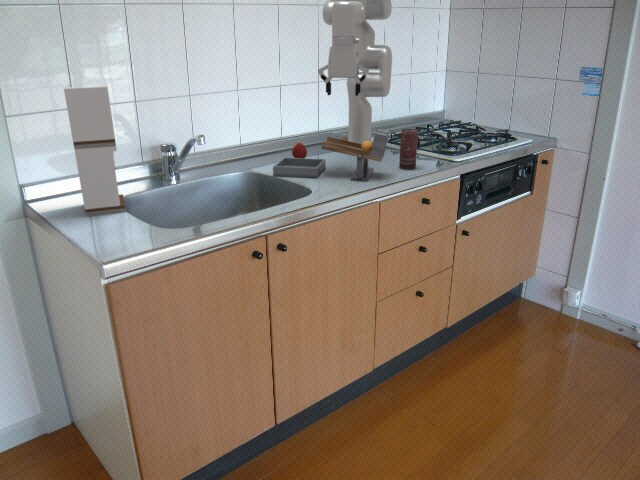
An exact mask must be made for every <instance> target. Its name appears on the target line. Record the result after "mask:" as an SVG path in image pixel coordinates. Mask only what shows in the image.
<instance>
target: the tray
mask: <svg viewBox="0 0 640 480" xmlns="http://www.w3.org/2000/svg"><path fill="white" fill-rule="evenodd" d="M326 164H327V163H326V159H325V158H307V157H305V158H294V157H283V158H281V159H280V160H279V161H278V162H276V163H275V164H274V165H273V166H272V175H273V176H272V177H280V178H281V177H282V178H283V177H284V178H301V179H302V178H304V179H318V178H320V176H321V175H322V174H323V172H324V171H326V166H327V165H326Z"/></svg>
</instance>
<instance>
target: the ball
mask: <svg viewBox="0 0 640 480" xmlns="http://www.w3.org/2000/svg"><path fill="white" fill-rule="evenodd" d="M372 144H373V142H372V141H371V142H370V141H365V142H363V143H362V146H361V148H362V150H365V151H371V149H372Z"/></svg>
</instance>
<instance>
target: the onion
mask: <svg viewBox="0 0 640 480" xmlns="http://www.w3.org/2000/svg"><path fill="white" fill-rule="evenodd" d="M307 150H308V149H307V147H306V146H305V145H304V144H303V143H301V141H299V140H297V143H296V144H295V145H294V146H293V147H292V150H291V154H292V156H293V157H292V158H307V154H308V151H307Z"/></svg>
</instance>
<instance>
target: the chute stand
mask: <svg viewBox="0 0 640 480" xmlns="http://www.w3.org/2000/svg"><path fill="white" fill-rule="evenodd" d="M374 169H375V168H374V167H369V159H366V158H364V157H363V155H362V154H360V155H359V156H358V157H357V156H356V169H355V170H354V172H353V174H352V175H351V177H350V181H353V182H354V181H355V182H369V181H370V179H371V177H372V174H373V173H374Z"/></svg>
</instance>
